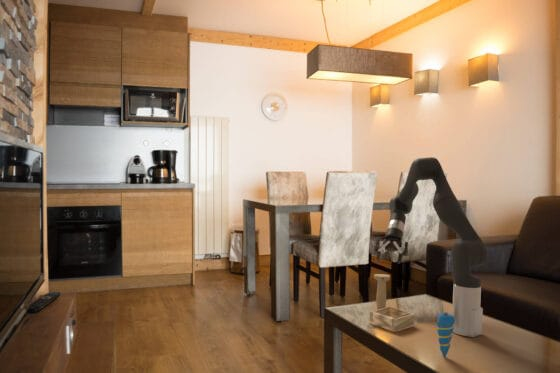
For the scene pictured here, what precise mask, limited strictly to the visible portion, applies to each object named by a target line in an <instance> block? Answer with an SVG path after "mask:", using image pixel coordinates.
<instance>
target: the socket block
mask: <svg viewBox="0 0 560 373" xmlns="http://www.w3.org/2000/svg"><path fill="white" fill-rule="evenodd" d="M369 314H370V315H369V324H370V325H373V326H376V327H378V328H381V329H382V328H383V329H385V330H387V331H391V332H393V333H397V332H400V331H403V330H405V329H409V328H412V327H414V326H415V313H413V312H410V311H409V312H408V311H406V310H402V309H398V308H396V307H392V306H386V307H385V308H383V309H379V310H377V309H376V310H372V311H369Z"/></svg>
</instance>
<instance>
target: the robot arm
mask: <svg viewBox="0 0 560 373" xmlns="http://www.w3.org/2000/svg"><path fill="white" fill-rule="evenodd" d="M427 180H429V181H430V180H432V181H433V183H434V185H435V190H434V191H435V192H434V196H433V199H432V207H433V208H434V211H435V212H436V216H437V217H438V218H439V220H440V221H441V222H442V224H444V225H445V226H446V227H447V228H448V229H450V230H452V231H453V232H454V233H455V234H456V235H457V236H458V237H459V238H460V240H458V241H455V242H454V243H453V244H452V249H451V275H452V278H453V287H452V288H453V290H452V314H451V315H452V316H453V317H454V319H455V322H454V325H453V327H454V329H453V332H452V333H454V334H456V335H459V336H462V337H463V336H464V337H471V338H475V337H478V336H480V335H481V336H482V334H483V313H484V308H483V307H481V302H482V301H481V299H482V298H481V296H482V295H481V294H482V279H481V277H479V276H477V275H474V274H472V273H471V267H480V266H484V265H485V264H486V263H487V262H488V259H489V253H488V250H487V247H486V245H485V243H484V241H483V240H482V239H481V237H480V236H479V234H478V233H477V231H476V230H475V228H474V227H473V225H472V223H471V222H470V221H469V219H468V217H467V215H466V214H465V211H464V210H463V207H462V206H461V204H460V201H459V200H458V199H457V197H456V194H455V193H454V192H453V189H452V187H451V186H450V184H449V182H448V179H447V177H446V174H445V172H444V170H443V167H442V165H441V162H440V161H439V160H438V159H437V158H436V157H433V156H430V157H420V158H416V159H414V160H412V163H411V165H410V167H409V171H408V174H407V177H406V180H405V183H404V186H403V187H402V188H401V190H400V192H399V193H398V195H394V196H392V197H391V199H390V201H389V211H390V212H389V213H390V218H389V221H388V225H387V228H386V232H385V237H384V240H380V239H379V238H378V239H376V242H375V245H374V249H373V250H374V253H375V254H376V260H377V262H381V259H382V254H384V253H385V252H387V251H388V252H396V253H397V254H398V257H397V264H401V263H402V261H403V257H407V256H408V253H409V242H408V241H405V242H403V238H404V234H405V225H406V220H407V216H406V215H408V214H410V213H411V211H412V209H413V205H414V204H413V203H414V200H415V199H416V197H417V196H418V194H419V189H420V188H419V186H418V183H417V182H418V181H427ZM402 247H403V248H404V250H401V248H402Z"/></svg>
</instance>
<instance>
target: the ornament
mask: <svg viewBox="0 0 560 373" xmlns="http://www.w3.org/2000/svg"><path fill="white" fill-rule="evenodd" d="M454 322H455V319H454V317H453V316H452V314H451V313H449V312H448V310H447V309H445V311H444V312H442V313H440V314H439V315H438V317H437V320H436V326H437V330H436V331H437V333H438V334H437V335H438V343H439V349H440V352H441V355H442V357H444V358H446V356H447V355H448V352H449V351H450V348H451V341H452V337H453V335H452V334H453V333H454V332H453V329H454V327H453V325H454Z"/></svg>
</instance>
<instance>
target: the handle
mask: <svg viewBox="0 0 560 373" xmlns="http://www.w3.org/2000/svg"><path fill="white" fill-rule="evenodd" d="M373 278H374V279H375V280H376V281H377V287H376V296H375V297H376V299H375V300H376V310H379V309H383V308H386V307H387V281H389V280H391V276H390V274H385V273H374V275H373Z"/></svg>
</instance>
